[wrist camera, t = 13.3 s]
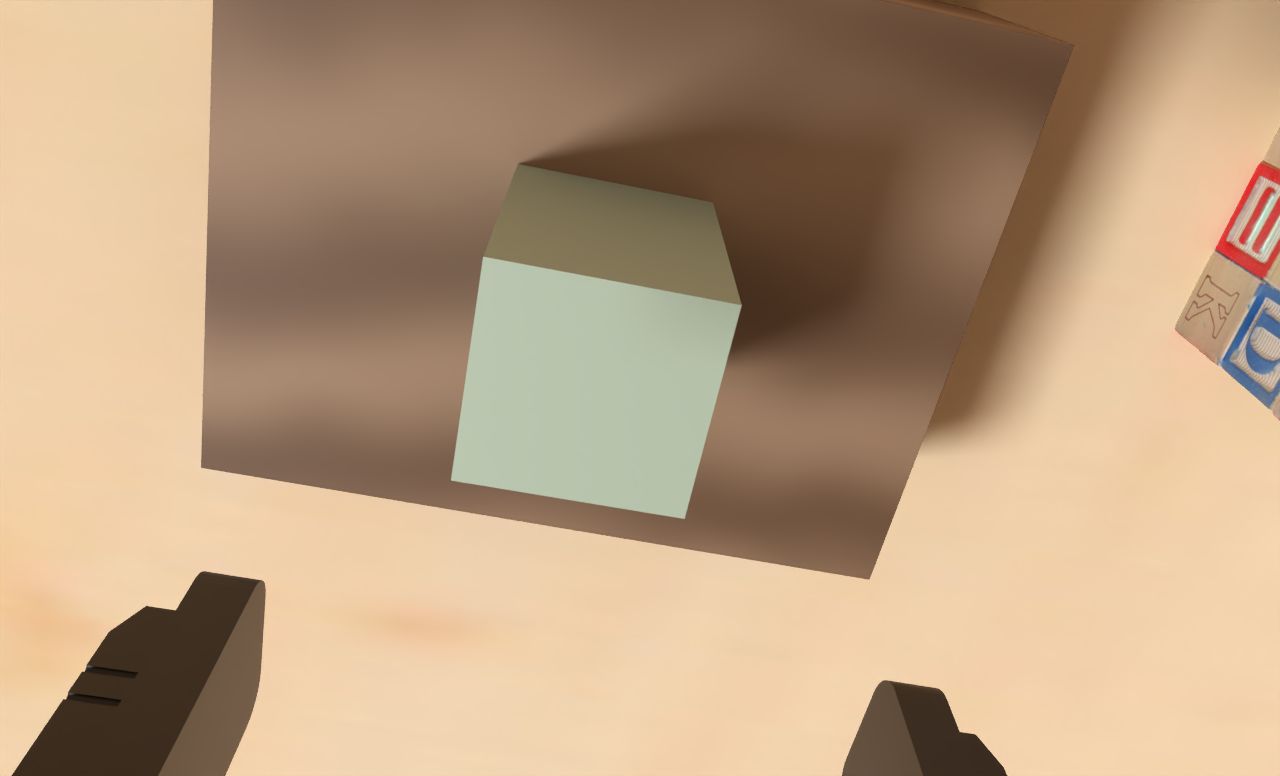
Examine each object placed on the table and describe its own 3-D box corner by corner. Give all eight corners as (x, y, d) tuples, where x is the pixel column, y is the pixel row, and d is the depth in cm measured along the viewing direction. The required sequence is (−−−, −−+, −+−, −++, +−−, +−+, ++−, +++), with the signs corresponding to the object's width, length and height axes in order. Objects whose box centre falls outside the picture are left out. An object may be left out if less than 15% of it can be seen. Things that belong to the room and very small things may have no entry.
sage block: (517, 163, 25) (483, 256, 19) (712, 202, 26) (741, 304, 20) (490, 343, 28) (451, 480, 21) (670, 376, 28) (684, 518, 22)
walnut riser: (306, -145, 28) (216, -153, 22) (981, 11, 31) (1074, 45, 24) (275, 363, 35) (201, 467, 29) (828, 462, 37) (869, 579, 31)
